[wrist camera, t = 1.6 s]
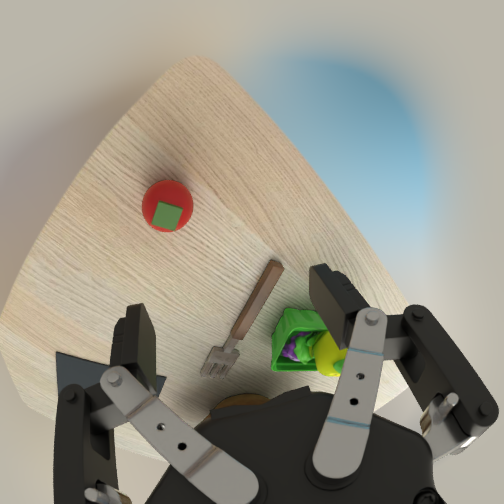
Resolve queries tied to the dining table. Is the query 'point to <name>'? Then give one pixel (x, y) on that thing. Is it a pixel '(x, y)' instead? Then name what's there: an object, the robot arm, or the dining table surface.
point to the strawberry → (167, 206)
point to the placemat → (85, 372)
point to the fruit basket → (305, 344)
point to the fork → (243, 322)
